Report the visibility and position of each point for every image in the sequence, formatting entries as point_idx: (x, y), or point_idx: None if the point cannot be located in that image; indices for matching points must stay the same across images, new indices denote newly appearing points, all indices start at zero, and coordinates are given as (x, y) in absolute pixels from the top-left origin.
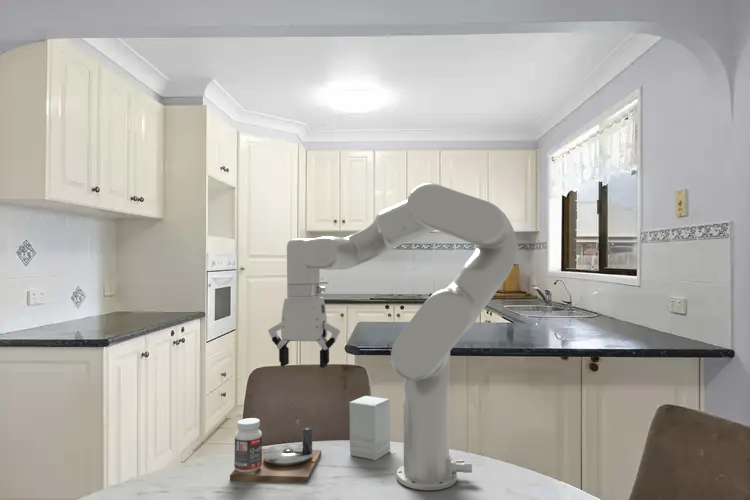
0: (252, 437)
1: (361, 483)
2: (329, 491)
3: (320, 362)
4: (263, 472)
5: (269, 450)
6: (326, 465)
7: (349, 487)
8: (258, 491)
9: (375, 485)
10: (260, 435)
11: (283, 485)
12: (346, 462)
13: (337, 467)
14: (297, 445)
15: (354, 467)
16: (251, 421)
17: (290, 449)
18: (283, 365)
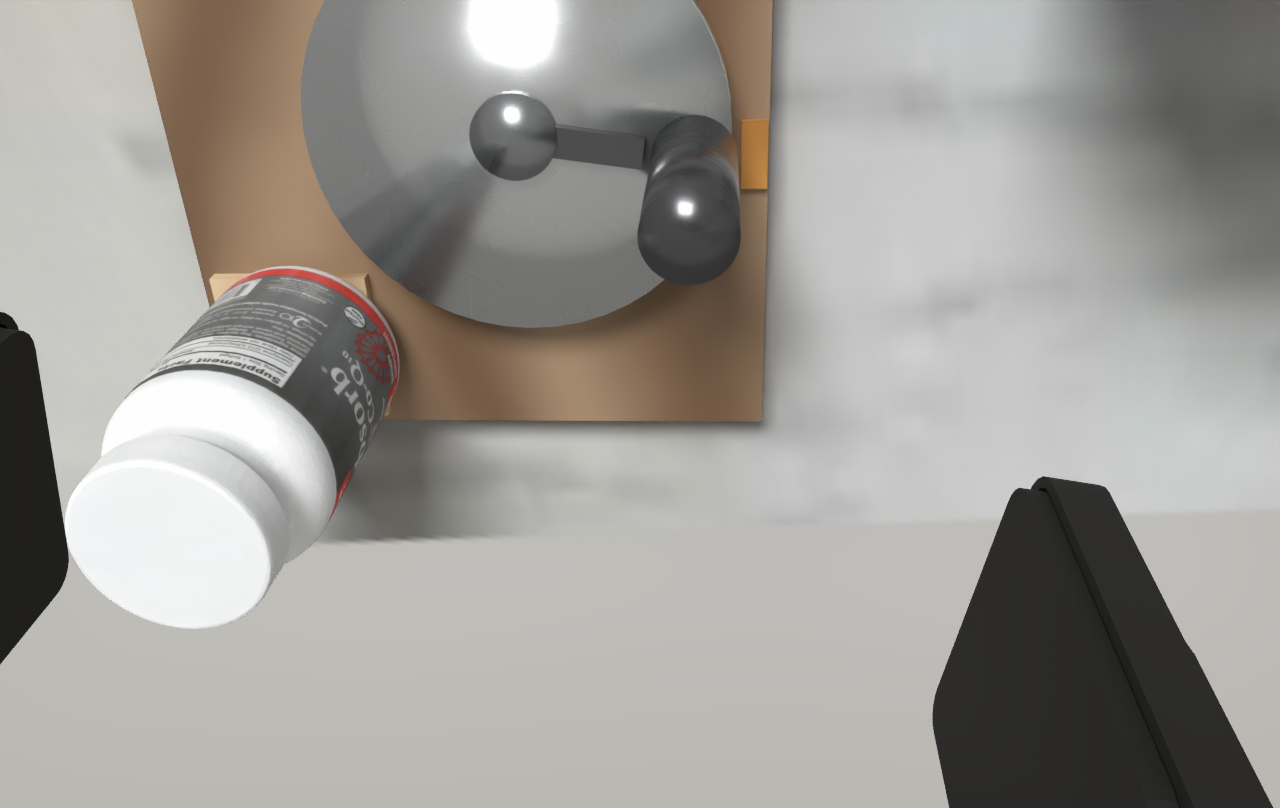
0: (296, 555)
1: (1124, 391)
2: (914, 499)
3: (959, 792)
4: (438, 373)
5: (341, 115)
6: (853, 101)
7: (1039, 447)
8: (493, 516)
9: (1217, 414)
10: (331, 494)
11: (613, 441)
12: (1024, 20)
13: (948, 135)
14: None
15: (1091, 125)
16: (201, 562)
17: (530, 128)
18: (61, 581)
